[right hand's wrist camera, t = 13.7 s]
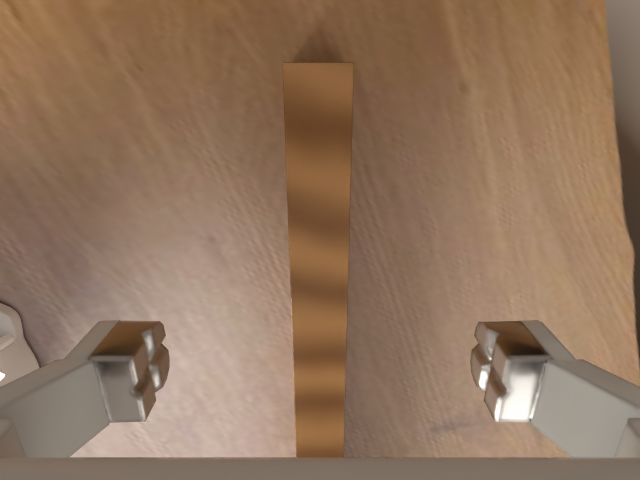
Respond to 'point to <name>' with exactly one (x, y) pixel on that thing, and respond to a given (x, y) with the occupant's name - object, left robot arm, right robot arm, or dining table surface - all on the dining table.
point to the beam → (319, 246)
